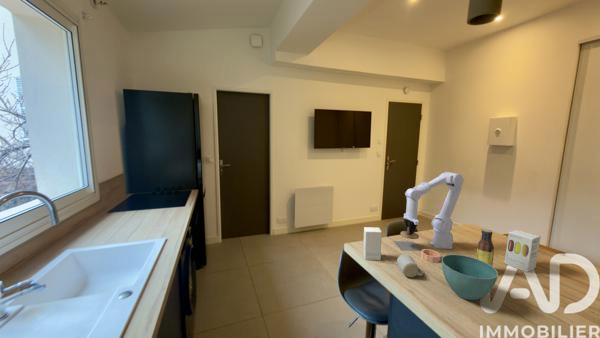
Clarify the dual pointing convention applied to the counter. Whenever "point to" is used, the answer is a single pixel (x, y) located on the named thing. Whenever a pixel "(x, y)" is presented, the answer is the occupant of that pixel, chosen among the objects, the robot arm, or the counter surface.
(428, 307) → the counter surface
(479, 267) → the deep teal bowl
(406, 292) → the counter surface
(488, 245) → the sauce bottle
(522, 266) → the supplement box
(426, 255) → the bowl
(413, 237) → the lid
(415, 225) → the robot arm
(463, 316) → the counter surface
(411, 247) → the mat
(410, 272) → the ceramic mug
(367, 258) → the skincare box
